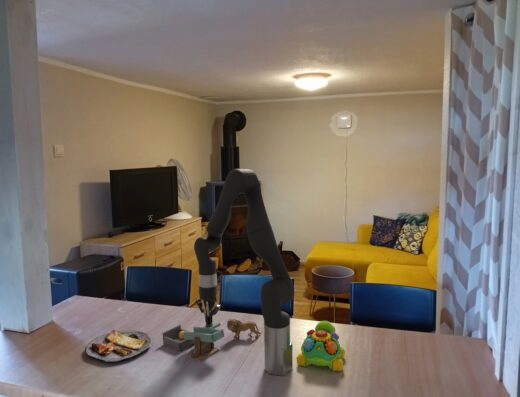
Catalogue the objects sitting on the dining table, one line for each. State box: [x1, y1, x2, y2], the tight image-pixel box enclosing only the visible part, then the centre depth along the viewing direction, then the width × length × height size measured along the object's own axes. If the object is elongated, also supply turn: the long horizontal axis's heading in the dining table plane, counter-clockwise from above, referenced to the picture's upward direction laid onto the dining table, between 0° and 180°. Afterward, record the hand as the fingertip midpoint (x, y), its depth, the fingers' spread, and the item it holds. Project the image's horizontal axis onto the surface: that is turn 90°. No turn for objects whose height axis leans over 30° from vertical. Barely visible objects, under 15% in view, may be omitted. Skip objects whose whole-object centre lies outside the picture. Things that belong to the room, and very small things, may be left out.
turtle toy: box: [296, 320, 346, 372], centre depth 155 cm, size 17×23×12 cm
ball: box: [179, 331, 185, 339], centre depth 167 cm, size 3×3×3 cm
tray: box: [162, 324, 194, 352], centre depth 168 cm, size 10×9×5 cm
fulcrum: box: [189, 337, 220, 362], centre depth 159 cm, size 6×10×8 cm, turn 142°
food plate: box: [84, 329, 153, 362], centre depth 165 cm, size 25×23×4 cm
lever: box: [184, 322, 225, 343], centre depth 163 cm, size 16×16×3 cm
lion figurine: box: [226, 318, 262, 341], centre depth 172 cm, size 15×5×9 cm, turn 108°
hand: (208, 323), depth 170 cm, fingers closed
